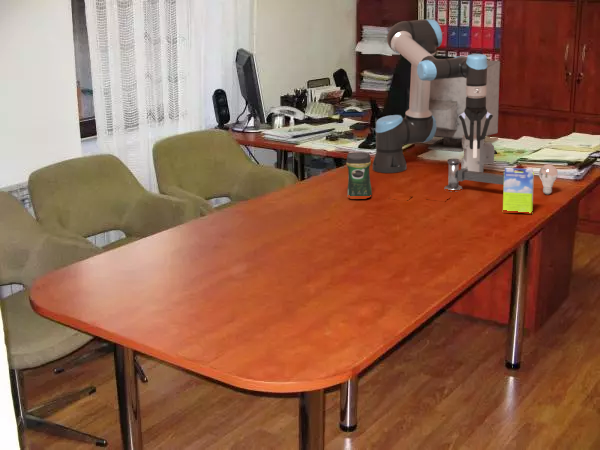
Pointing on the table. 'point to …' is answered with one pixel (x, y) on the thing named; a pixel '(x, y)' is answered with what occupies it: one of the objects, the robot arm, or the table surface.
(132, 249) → the table surface
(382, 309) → the table surface
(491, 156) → the circuit breaker
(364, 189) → the coffee jar
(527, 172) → the box
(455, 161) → the post
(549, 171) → the light bulb
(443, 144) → the crt monitor
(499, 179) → the swing bar
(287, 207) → the table surface
